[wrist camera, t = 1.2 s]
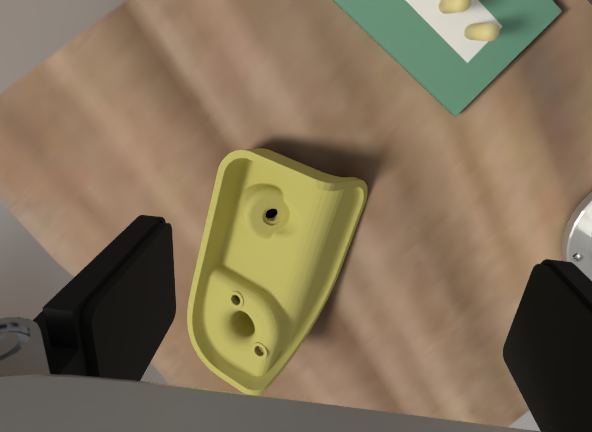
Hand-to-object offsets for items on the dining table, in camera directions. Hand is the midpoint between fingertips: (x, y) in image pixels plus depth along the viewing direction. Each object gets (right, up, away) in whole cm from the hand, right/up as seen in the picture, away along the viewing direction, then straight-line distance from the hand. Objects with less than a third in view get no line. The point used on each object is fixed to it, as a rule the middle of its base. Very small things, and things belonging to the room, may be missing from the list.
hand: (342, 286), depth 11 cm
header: (+9, +16, +17) cm, 25 cm away
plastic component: (-4, -1, +27) cm, 27 cm away
